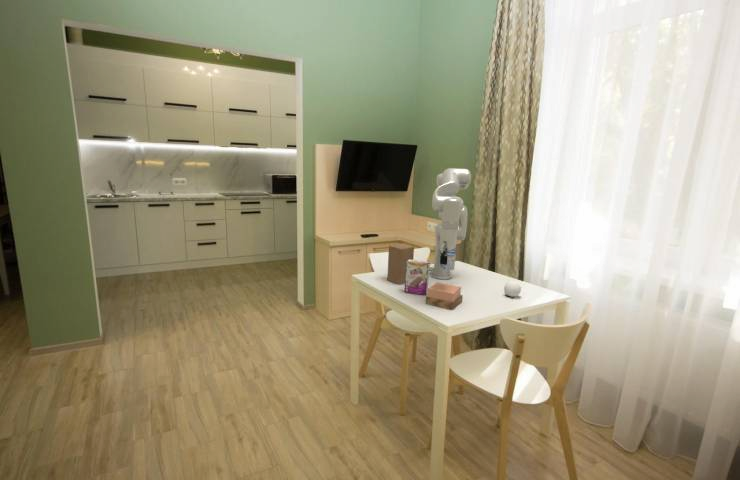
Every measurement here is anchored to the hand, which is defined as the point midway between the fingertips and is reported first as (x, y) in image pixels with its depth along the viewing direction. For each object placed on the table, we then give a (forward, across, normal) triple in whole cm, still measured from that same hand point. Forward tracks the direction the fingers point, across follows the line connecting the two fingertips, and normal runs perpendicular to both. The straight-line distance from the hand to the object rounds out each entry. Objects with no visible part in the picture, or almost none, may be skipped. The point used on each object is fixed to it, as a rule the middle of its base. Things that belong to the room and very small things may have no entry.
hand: (447, 262), depth 175 cm
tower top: (+16, 0, 0) cm, 16 cm away
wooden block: (+20, -17, -33) cm, 42 cm away
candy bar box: (+20, -5, -17) cm, 27 cm away
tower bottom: (+20, 0, 0) cm, 20 cm away
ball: (+20, -31, +24) cm, 44 cm away
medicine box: (+3, 0, 0) cm, 3 cm away
